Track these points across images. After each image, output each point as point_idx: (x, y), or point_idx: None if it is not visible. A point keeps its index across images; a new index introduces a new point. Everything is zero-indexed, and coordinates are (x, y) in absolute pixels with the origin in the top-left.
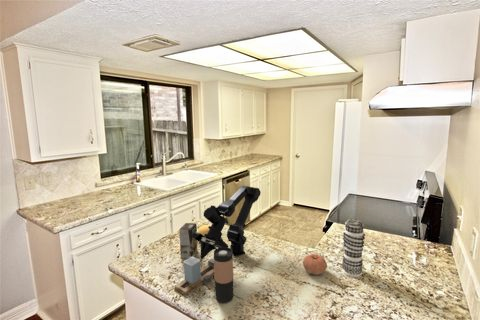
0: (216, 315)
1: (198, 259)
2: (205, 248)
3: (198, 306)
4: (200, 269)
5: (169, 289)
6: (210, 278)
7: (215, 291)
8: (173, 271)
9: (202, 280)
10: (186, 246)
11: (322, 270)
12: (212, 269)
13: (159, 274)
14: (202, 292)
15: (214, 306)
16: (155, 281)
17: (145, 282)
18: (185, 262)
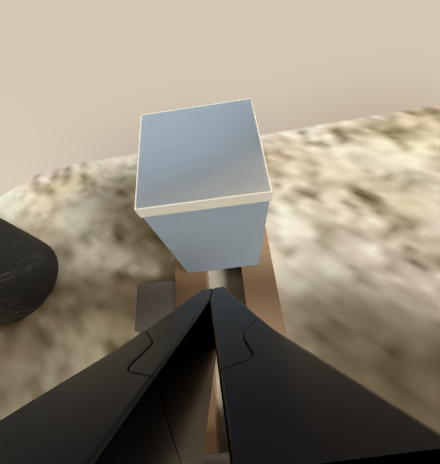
0: (6, 193)
1: (155, 200)
2: (124, 358)
3: (91, 177)
4: (171, 252)
5: (268, 155)
6: (139, 315)
7: (12, 225)
8: (412, 237)
9: (175, 274)
10: None
11: None
12: (210, 421)
13: (427, 175)
14: (131, 234)
15: (34, 215)
16: (372, 141)
17: (393, 114)
18: (224, 104)
